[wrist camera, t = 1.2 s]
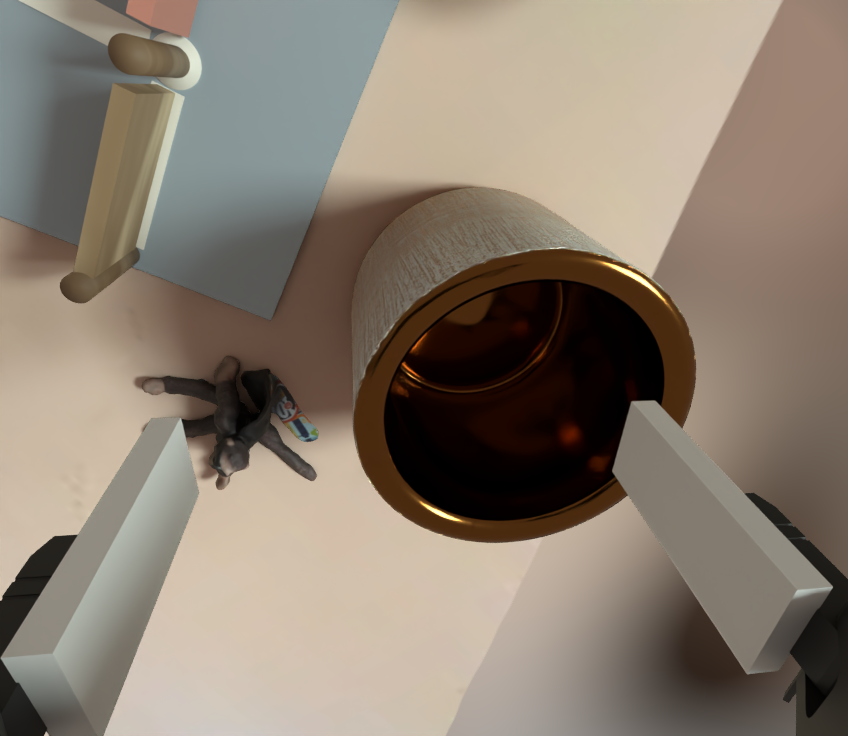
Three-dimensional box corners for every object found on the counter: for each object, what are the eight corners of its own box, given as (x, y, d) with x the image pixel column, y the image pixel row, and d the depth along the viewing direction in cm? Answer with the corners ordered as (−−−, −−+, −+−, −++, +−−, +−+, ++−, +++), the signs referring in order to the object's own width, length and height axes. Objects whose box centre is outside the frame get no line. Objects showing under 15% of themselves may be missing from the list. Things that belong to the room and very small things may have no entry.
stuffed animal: (146, 341, 36) (271, 426, 33) (246, 319, 44) (354, 385, 41) (128, 466, 41) (235, 551, 37) (221, 425, 49) (316, 491, 46)
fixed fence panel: (115, 256, 34) (57, 296, 27) (167, 39, 28) (112, 25, 22) (140, 266, 34) (89, 307, 28) (196, 55, 29) (150, 45, 22)
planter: (302, 313, 37) (271, 441, 24) (474, 123, 32) (561, 148, 19) (462, 435, 45) (509, 587, 31) (622, 296, 40) (761, 404, 26)
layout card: (-127, 162, 30) (-137, 164, 29) (-103, -556, 19) (-118, -577, 18) (271, 317, 37) (270, 321, 36) (451, -131, 26) (453, -137, 26)
